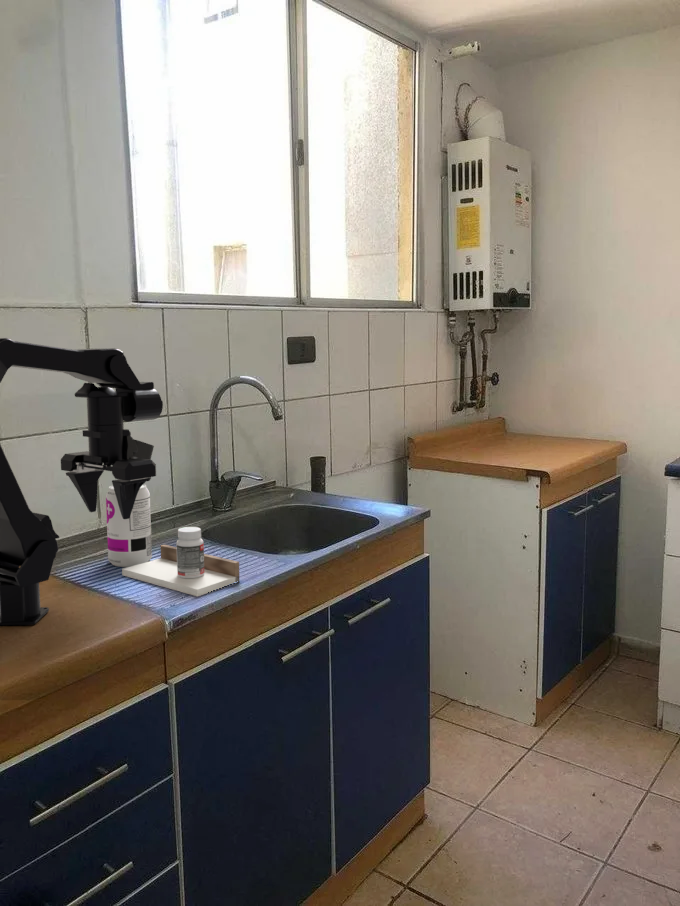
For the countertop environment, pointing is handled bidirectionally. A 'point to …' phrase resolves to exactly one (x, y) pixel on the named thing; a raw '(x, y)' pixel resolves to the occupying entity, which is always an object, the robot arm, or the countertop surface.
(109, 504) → the supplement can
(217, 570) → the shelf board
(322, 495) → the countertop surface
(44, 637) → the countertop surface
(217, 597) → the countertop surface
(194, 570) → the pill bottle
